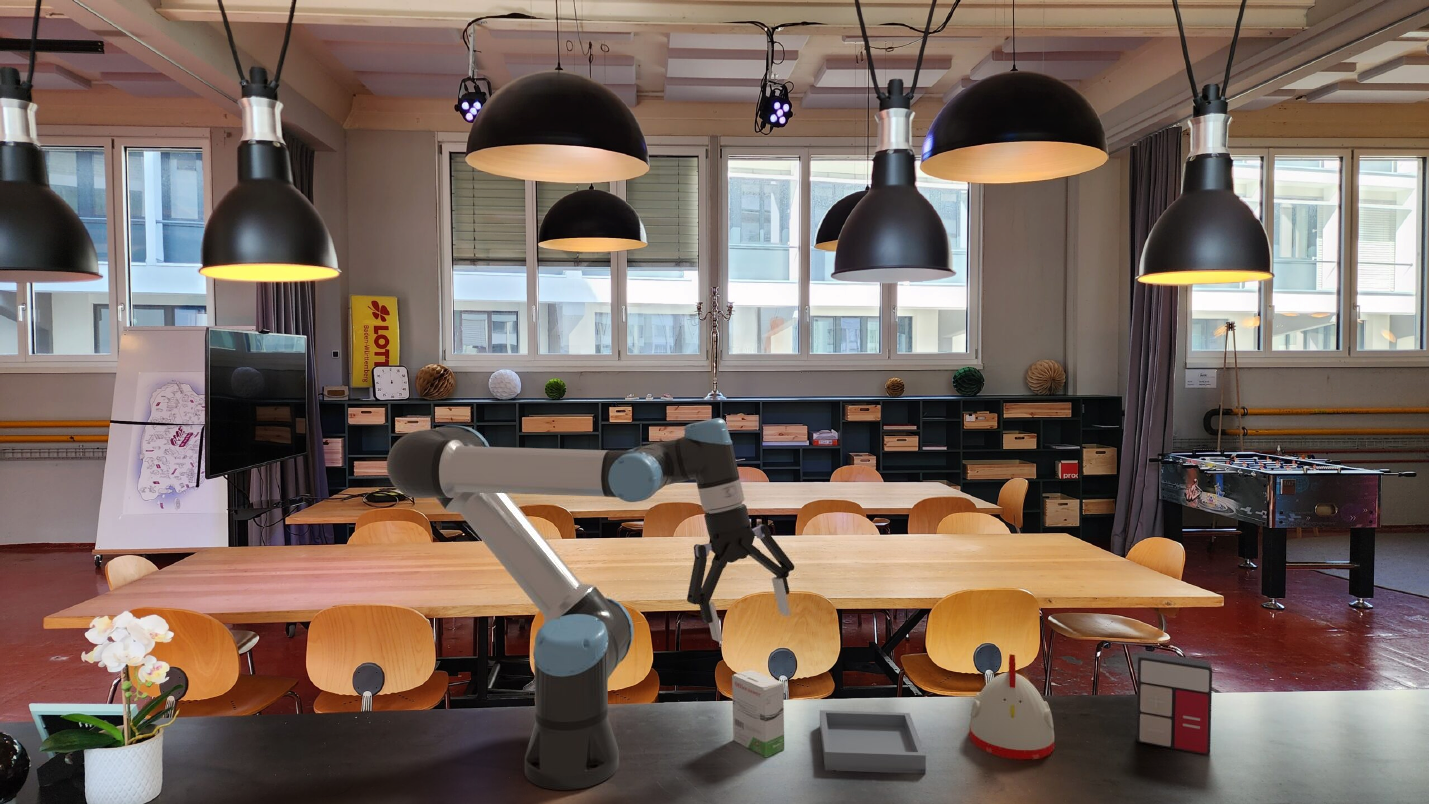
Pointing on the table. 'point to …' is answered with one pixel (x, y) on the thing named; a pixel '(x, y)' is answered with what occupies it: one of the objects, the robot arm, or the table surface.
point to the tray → (871, 742)
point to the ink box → (758, 712)
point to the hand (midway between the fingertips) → (752, 626)
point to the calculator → (1174, 702)
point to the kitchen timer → (1012, 718)
